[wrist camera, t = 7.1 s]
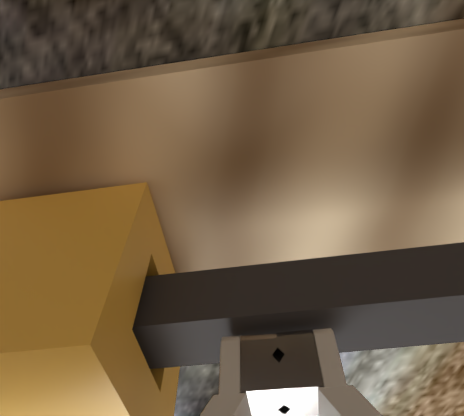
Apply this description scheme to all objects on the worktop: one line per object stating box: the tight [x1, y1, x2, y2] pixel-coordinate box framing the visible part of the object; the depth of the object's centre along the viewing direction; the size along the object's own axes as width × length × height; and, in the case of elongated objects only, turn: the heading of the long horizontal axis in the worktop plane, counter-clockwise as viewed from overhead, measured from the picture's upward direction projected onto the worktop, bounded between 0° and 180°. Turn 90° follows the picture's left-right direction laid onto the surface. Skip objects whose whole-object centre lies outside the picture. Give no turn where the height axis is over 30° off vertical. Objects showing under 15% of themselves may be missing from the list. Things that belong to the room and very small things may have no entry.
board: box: [0, 19, 464, 273], centre depth 16 cm, size 29×13×1 cm, turn 98°
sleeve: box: [0, 182, 180, 416], centre depth 13 cm, size 6×6×6 cm
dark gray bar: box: [132, 242, 464, 369], centre depth 12 cm, size 26×2×2 cm, turn 98°
